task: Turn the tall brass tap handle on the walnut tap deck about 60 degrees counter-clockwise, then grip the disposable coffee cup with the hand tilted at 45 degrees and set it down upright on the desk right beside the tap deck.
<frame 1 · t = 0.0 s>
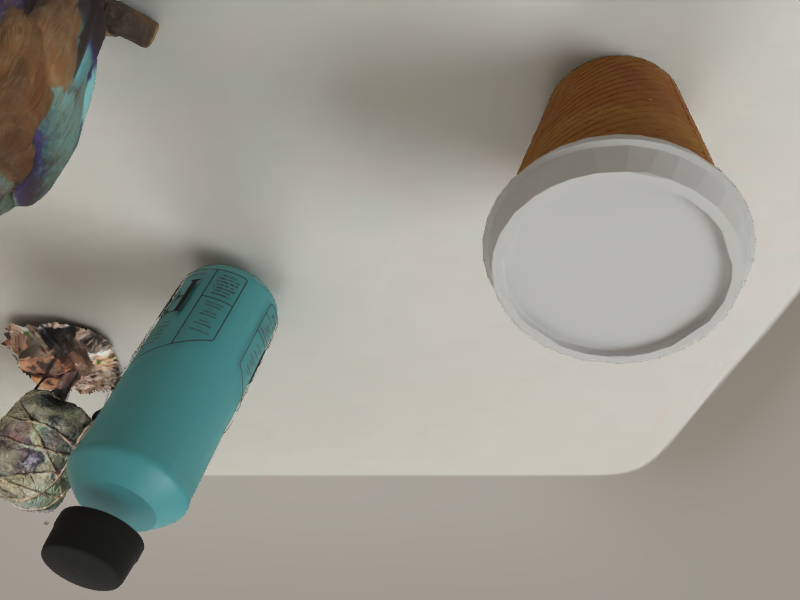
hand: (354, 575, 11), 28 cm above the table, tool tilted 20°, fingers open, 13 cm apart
plant with pod: (82, 354, 56), on the table
disposable coffee cup: (612, 117, 35), on the table
beverage bottle: (243, 285, 48), on the table
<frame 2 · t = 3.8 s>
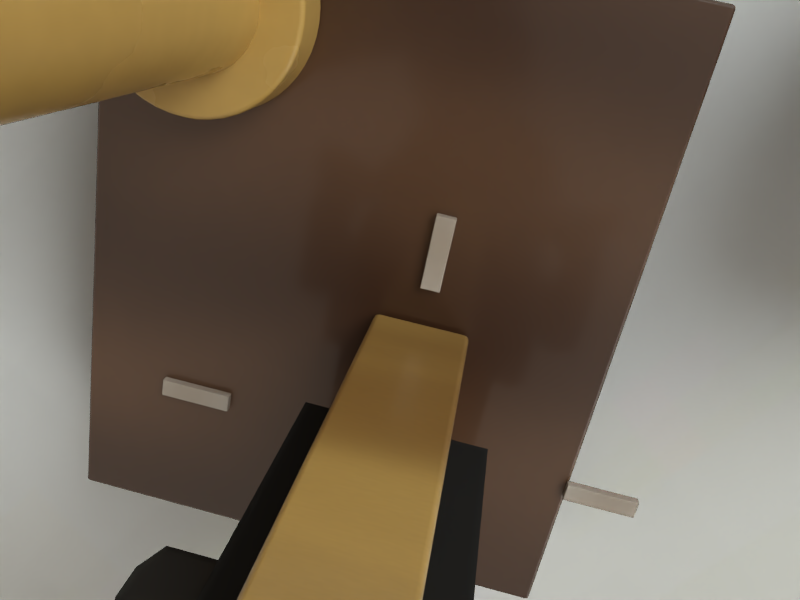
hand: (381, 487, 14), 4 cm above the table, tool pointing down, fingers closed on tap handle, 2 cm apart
tap deck: (373, 248, 16), on the table
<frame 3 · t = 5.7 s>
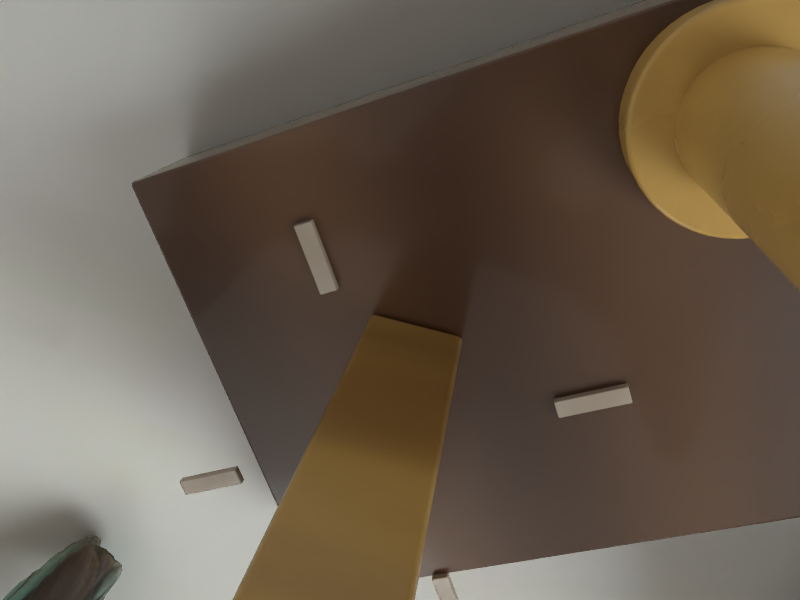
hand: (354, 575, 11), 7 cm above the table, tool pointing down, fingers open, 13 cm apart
tap spout: (734, 114, 12), resting on tap deck
tap deck: (513, 295, 16), on the table
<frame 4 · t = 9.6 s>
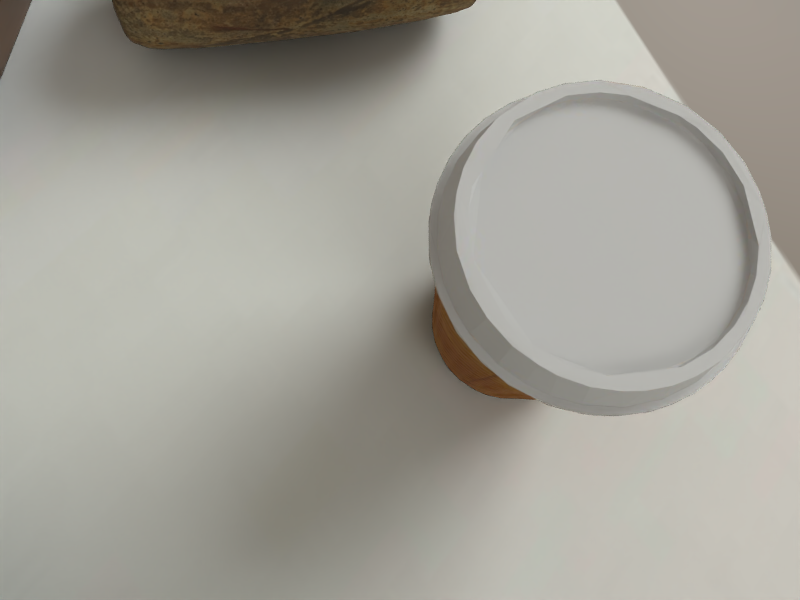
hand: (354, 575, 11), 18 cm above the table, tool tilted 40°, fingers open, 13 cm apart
disposable coffee cup: (505, 324, 31), on the table
brown cylindrical piece: (300, 4, 34), on the table
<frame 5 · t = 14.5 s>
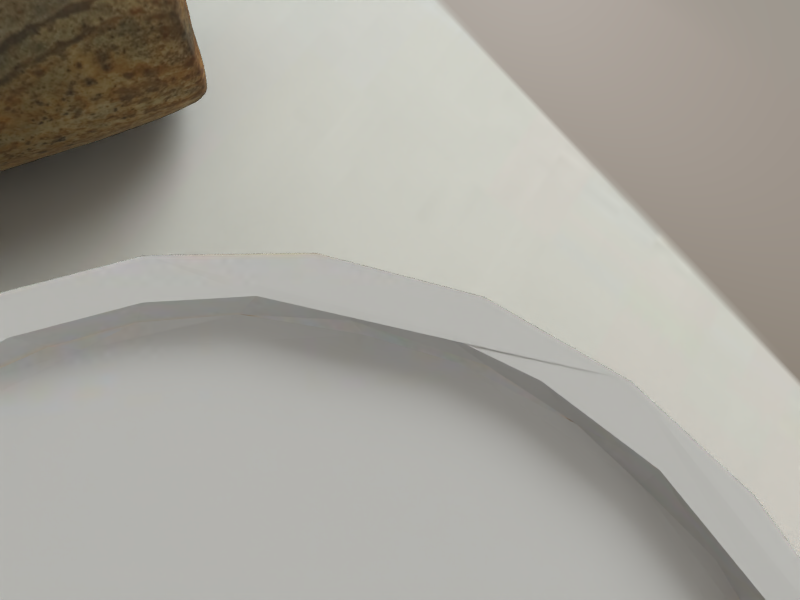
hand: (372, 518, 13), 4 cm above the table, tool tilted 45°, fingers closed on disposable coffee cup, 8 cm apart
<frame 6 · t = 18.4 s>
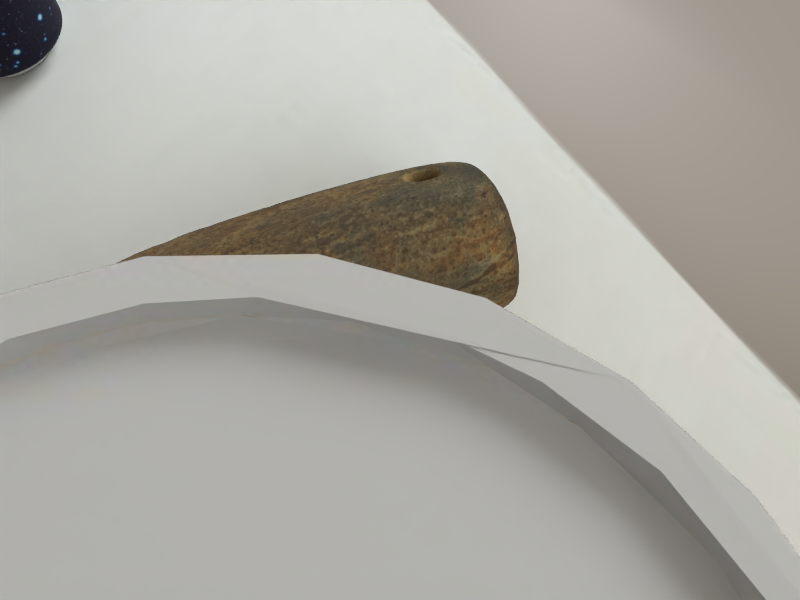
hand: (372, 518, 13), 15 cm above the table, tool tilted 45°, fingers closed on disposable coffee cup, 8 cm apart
beverage can: (10, 44, 35), on the table
brown cylindrical piece: (315, 319, 31), on the table
when the fingers open (4 cm above the table, at t = 22.4 s): disposable coffee cup stays where it is, on the table.
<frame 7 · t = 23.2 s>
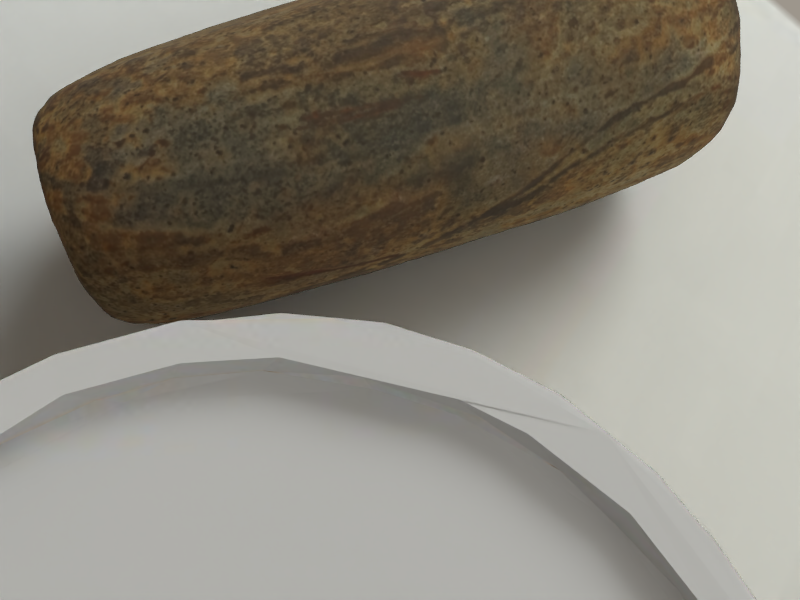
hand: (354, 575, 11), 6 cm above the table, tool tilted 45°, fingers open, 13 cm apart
brown cylindrical piece: (390, 193, 21), on the table
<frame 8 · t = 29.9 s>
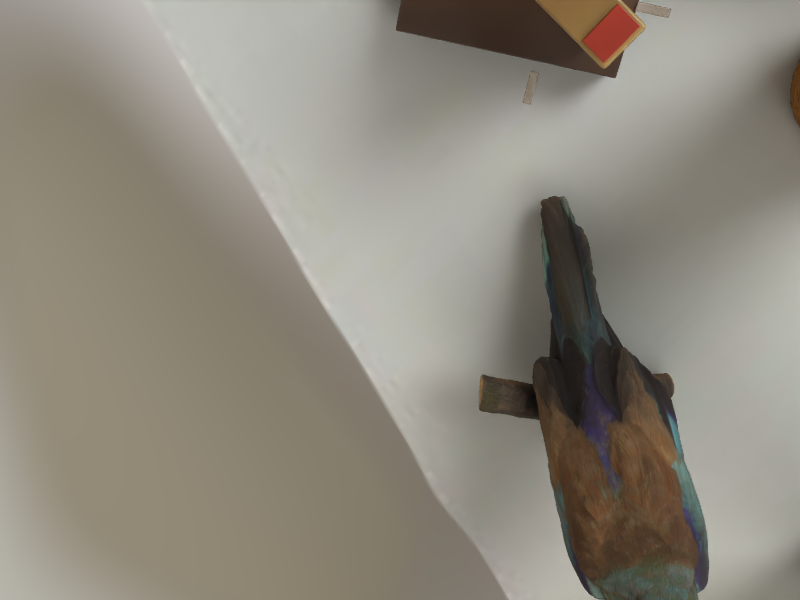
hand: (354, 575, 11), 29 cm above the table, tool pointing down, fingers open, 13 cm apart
bird figurine: (575, 377, 41), on the table
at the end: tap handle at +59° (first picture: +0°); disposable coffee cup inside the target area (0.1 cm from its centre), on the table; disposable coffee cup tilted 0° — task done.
